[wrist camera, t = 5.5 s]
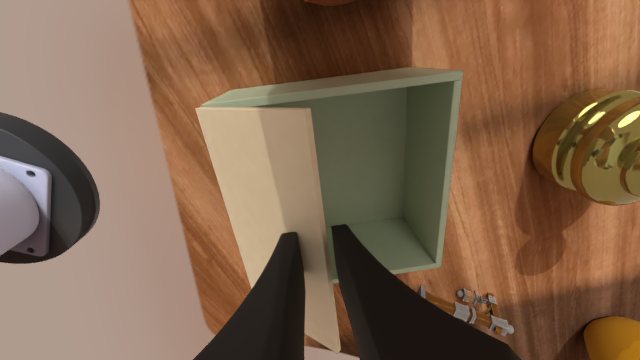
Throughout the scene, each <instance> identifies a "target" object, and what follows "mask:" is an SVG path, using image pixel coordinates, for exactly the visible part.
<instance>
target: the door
mask: <svg viewBox="0 0 640 360" xmlns="http://www.w3.org/2000/svg"><path fill="white" fill-rule="evenodd" d="M195 110H196V113H197V116H198V119H199V122H200V126H201V129H202V132H203V135H204V138H205V142H206V145H207V148H208V151H209V154H210V158H211V161H212V164H213V167H214V170H215V174H216V177H217V180H218V183H219V186H220V189H221V193H222V196H223V199H224V202H225V205H226V209H227V212H228V215H229V218H230V221H231V225H232V228H233V231H234V234H235V237H236V241H237V244H238V247H239V250H240V253H241V257H242V260H243V263H244V266H245V269H246V273H247V276H248V279H249V282H250V285H251V289H252V288H253V286H254V285H255V283H256V282H257V280H258V278H259V277H260V275H261V273H262V272H263V270H264V268H265V266H266V264H267V263H268V261H269V259H270V257H271V255H272V253H273V251H274V249H275V247H276V245H277V242H278V240H279V238H280V235H281V234H282V233H288V232H297V236H298V242H299V247H300V252H301V258H302V263H303V269H304V277H305V290H306V296H305V332H304V334H306V335H308V336H309V337H311V338H313V339H314V340H316V341H318V342H319V343H321V344H323V345H324V346H326V347H328V348H329V349H331V350H333V351H334V352H336V353H337V354H338V353H339V351H340V349H341V346H340V338H339V330H338V322H337V314H336V306H335V298H334V290H333V282H332V275H331V267H330V259H329V251H328V243H327V235H326V227H325V219H324V211H323V203H322V195H321V187H320V179H319V171H318V164H317V156H316V148H315V140H314V132H313V124H312V116H311V109H310V108H262V107H199V108H196V109H195Z"/></svg>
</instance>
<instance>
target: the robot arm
mask: <svg viewBox="0 0 640 360" xmlns="http://www.w3.org/2000/svg"><path fill="white" fill-rule="evenodd" d="M32 172H34V173H35V174H33V173H32ZM51 189H52V175H51V173H50V172H49V171H48V170H46V169H44V168H41V167H37V166H34V165H30V164H27V163H23V162H20V161H17V160H13V159H10V158H6V157H3V156H0V256H1V255H2V254H4V253H5V252H7V251H8V250H12V251H17V252H21V253H26V254H30V255H35V256H44V255H46V254H47V253H48V252H49V241H50V215H51ZM331 230H332V239H333V247H334V256H335V264H336V270H337V275H338V281H339V286H340V289H341V293H342V296H343V300H344V303H345V307H346V310H347V313H348V317H349V320H350V323H351V327H352V330H353V334H354V337H355V341H356V345H357V349H358V353H359V358H360V360H521V359H520V358H519V357H518V356H517V355H516V353H515V352H514V351H513V350H512V349H511V348H510V347H509V345H508V344H506V343H504V342H502V341H500V340H498V339H496V338H494V337H492V336H490V335H488V334H486V333H484V332H482V331H480V330H478V329H476V328H474V327H472V326H470V325H468V324H466V323H464V322H462V321H461V320H459V319H457V318H455V317H454V316H452V315H450V314H449V313H447V312H445V311H444V310H442V309H440V308H439V307H437V306H436V305H434V304H433V303H431V302H430V301H428V300H427V299H425V298H423V297H422V296H421V295H419V294H418V293H416V292H415V291H414V290H412V289H411V288H410V287H408V286H407V285H406V284H404V283H403V282H402V281H401V280H399V279H398V278H397V277H396V276H395V275H393V274H392V273H391V272H390V271H389V270H388V269H387V268H386V267H384V266H383V265H382V264H381V263H380V262H379V261H378V260H377V259H376V258H375V257H374V256H373V255H372V254H371V253H370V252H369V251H368V250H367V249H366V247H365V246H364V245H363V244H362V243H361V242H360V241H359V239H358V238H357V237H356V236H355V235H354V233H353V232H352V231H351V229H350V228H349V226H348V225H346V224H341V225H335V226H331ZM305 296H306V290H305V277H304V269H303V263H302V258H301V252H300V247H299V242H298V236H297V232H288V233H282V234H281V235H280V238H279V240H278V242H277V245H276V247H275V249H274V251H273V253H272V255H271V257H270V259H269V261H268V263H267V264H266V266H265V268H264V270H263V272H262V273H261V275H260V277H259V278H258V280H257V282H256V283H255V285H254V286H253V288H252V290H251V291H250V292H249V294H248V295H247V297H246V298H245V300H244V301H243V303H242V304H241V305H240V307H239V308H238V309H237V311H236V312H235V313H234V314H233V316H232V317H231V318H230V319H229V321H228V322H227V323H226V324H225V325H224V327H223V328H222V329H221V330H220V331H219V333H218V334H217V335H216V336H215V337H214V338H213V340H211V342H210V343H209V344H208V345H207V346H206V347H205V348H204V349H203V350H202V351H201V352H200V353H199V354H198V355H197V356H196V357H195V358H194V359H193V360H304V332H305Z"/></svg>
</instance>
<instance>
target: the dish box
mask: <svg viewBox="0 0 640 360" xmlns="http://www.w3.org/2000/svg"><path fill="white" fill-rule="evenodd" d="M462 77H463V71H462V70H448V69H433V68H418V67H407V68H399V69H391V70H383V71H375V72H367V73H360V74H352V75H344V76H336V77H328V78H321V79H313V80H305V81H297V82H289V83H282V84H274V85H266V86H258V87H250V88H243V89H235V90H230V91H228V92H226V93H224V94H222V95H220V96H218V97H216V98H214V99H212V100H210V101H208V102H206V103H204V104H202V107H262V108H310V109H311V116H312V124H313V132H314V140H315V148H316V156H317V164H318V171H319V179H320V187H321V195H322V203H323V211H324V219H325V227H326V235H327V243H328V251H329V259H330V267H331V275H332V282H333V284H335V283H339V281H338V275H337V270H336V264H335V256H334V247H333V239H332V230H331V226H335V225H341V224H346V225H348V226H349V228H350V229H351V231H352V232H353V233H354V235H355V236H356V237H357V238H358V239H359V241H360V242H361V243H362V244H363V245H364V246H365V247H366V249H367V250H368V251H369V252H370V253H371V254H372V255H373V256H374V257H375V258H376V259H377V260H378V261H379V262H380V263H381V264H382V265H383V266H384V267H386V268H387V269H388V270H389V271H390V272H391V273H392V274H393V275H394V274H401V273H407V272H414V271H420V270H427V269H434V268H440V267H441V262H442V253H443V244H444V235H445V227H446V218H447V209H448V200H449V191H450V182H451V174H452V165H453V156H454V147H455V138H456V130H457V121H458V112H459V103H460V94H461V86H462Z"/></svg>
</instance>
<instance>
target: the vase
mask: <svg viewBox="0 0 640 360" xmlns="http://www.w3.org/2000/svg"><path fill="white" fill-rule="evenodd" d="M304 1H306V2H310V3H313V4H317V5H326V6H331V5H341V4H346V3H349V2H352V1H354V0H304Z"/></svg>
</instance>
